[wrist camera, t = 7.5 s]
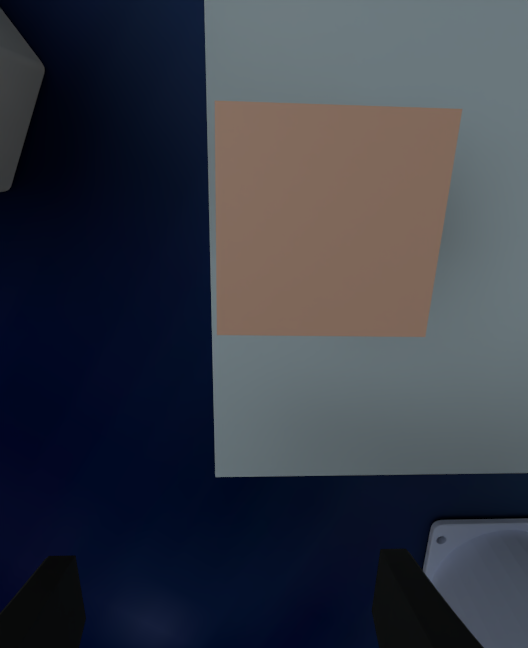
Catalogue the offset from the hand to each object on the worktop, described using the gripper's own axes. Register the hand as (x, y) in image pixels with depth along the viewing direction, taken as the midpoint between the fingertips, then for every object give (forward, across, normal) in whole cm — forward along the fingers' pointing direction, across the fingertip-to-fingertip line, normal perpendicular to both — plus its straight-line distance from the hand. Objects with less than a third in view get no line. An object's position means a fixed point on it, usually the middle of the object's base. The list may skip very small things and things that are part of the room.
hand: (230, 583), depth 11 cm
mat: (+10, -7, -5) cm, 13 cm away
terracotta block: (+6, -2, -8) cm, 10 cm away
